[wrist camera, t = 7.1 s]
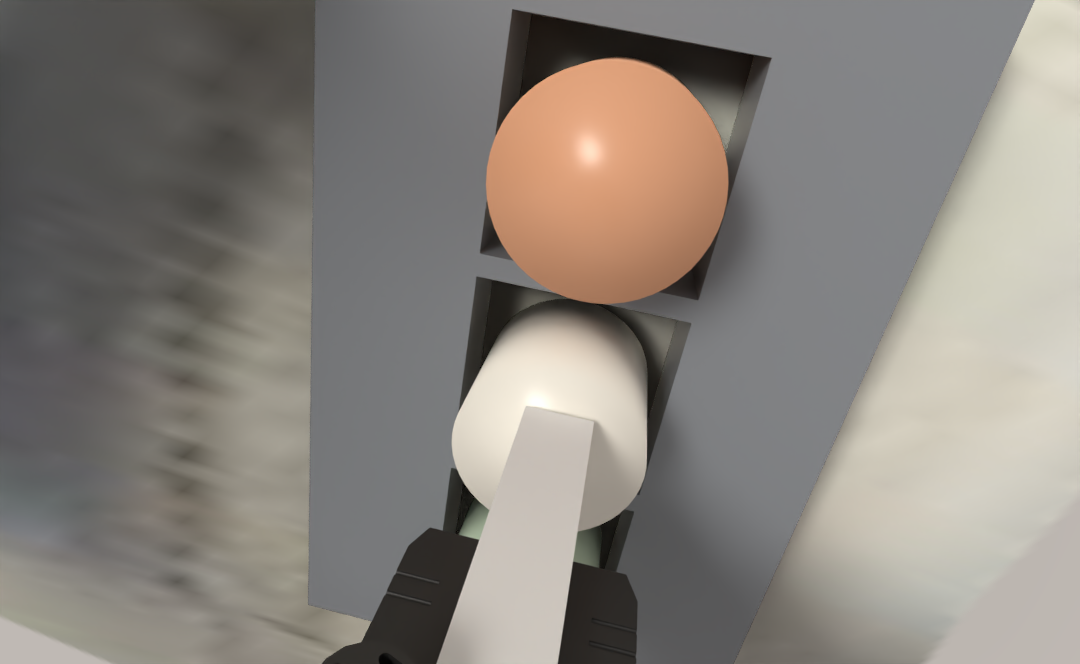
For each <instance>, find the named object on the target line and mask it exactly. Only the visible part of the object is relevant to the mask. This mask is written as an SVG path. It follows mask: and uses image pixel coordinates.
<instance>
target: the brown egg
mask: <svg viewBox="0 0 1080 664" xmlns="http://www.w3.org/2000/svg"><path fill="white" fill-rule="evenodd" d="M486 193H487V202H488V207H489V213H490V216H491V219H492V222H493V225H494V228H495V231H496V233H497V235H498V237H499V239H500V241H501V243H502V245H503V246H504V248H505V249H506V251H507V252H508V254H509V255H510V257H511V258H512V259H513V260H514V261H515V263H516V264H517V265H518V266H519V267H520V268H521V269H522V270H523V271H524V272H525V273H526V274H527V275H528V276H530V277H531V278H532V279H534V280H535V281H536V282H538V283H539V284H540V285H542V286H544V287H546V288H547V289H549V290H551V291H553V292H555V293H557V294H560V295H562V296H564V297H567V298H571V299H574V300H578V301H582V302H589V303H597V304H614V303H624V302H629V301H634V300H638V299H641V298H644V297H647V296H650V295H653V294H655V293H657V292H659V291H661V290H663V289H665V288H667V287H668V286H670V285H672V284H673V283H675V282H676V281H678V280H679V279H680V278H681V277H683V276H684V275H685V274H686V273H687V272H689V271H690V270H691V269H692V268H693V267H694V266H695V264H696V263H697V262H698V261H699V260H700V259H701V258H702V256H703V255H704V254H705V252H706V251H707V249H708V248H709V247H710V245H711V243H712V241H713V239H714V237H715V236H716V234H717V232H718V229H719V227H720V224H721V221H722V219H723V216H724V211H725V207H726V203H727V195H728V166H727V161H726V155H725V150H724V147H723V144H722V141H721V138H720V135H719V133H718V131H717V129H716V127H715V125H714V123H713V121H712V119H711V118H710V116H709V115H708V114H707V112H706V111H705V109H704V108H703V106H702V105H701V104H700V103H699V102H698V100H697V99H696V98H695V97H694V96H693V95H692V93H691V92H690V91H689V90H688V89H687V88H686V87H685V85H684V84H683V83H682V82H681V81H680V80H679V79H677V78H676V77H675V76H674V75H672V74H671V73H670V72H668V71H667V70H665V69H663V68H662V67H660V66H658V65H655V64H653V63H651V62H648V61H645V60H641V59H637V58H630V57H607V58H601V59H596V60H593V61H589V62H586V63H583V64H579V65H576V66H573V67H570V68H567V69H564V70H562V71H560V72H557V73H555V74H553V75H551V76H549V77H547V78H546V79H544V80H543V81H541V82H540V83H538V84H537V85H535V86H534V87H533V88H532V89H531V90H529V91H528V92H527V93H526V94H525V95H524V96H522V98H521V99H520V100H519V101H518V102H517V103H516V104H515V106H514V107H513V108H512V109H511V110H510V112H509V113H508V115H507V116H506V118H505V119H504V121H503V122H502V124H501V126H500V128H499V130H498V132H497V135H496V137H495V139H494V142H493V145H492V148H491V151H490V155H489V160H488V165H487V175H486Z"/></svg>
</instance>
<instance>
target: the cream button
mask: <svg viewBox="0 0 1080 664" xmlns="http://www.w3.org/2000/svg"><path fill="white" fill-rule="evenodd" d="M526 406H530V407H534V408H538V409H543V410H547V411H551V412H555V413H560V414H564V415H568V416H573V417H577V418H581V419H585V420H590V421H594V425H593V432H592V438H591V445H590V452H589V458H588V465H587V472H586V478H585V485H584V492H583V498H582V505H581V512H580V518H579V525H578V531H582V530H586V529H590V528H593V527H596V526H599V525H601V524H603V523H605V522H607V521H609V520H611V519H612V518H614V517H615V516H617V515H618V514H620V513H621V512H622V511H623V510H624V509H625V508H626V507H627V506H628V505H629V504H630V503H631V502H632V500H633V499H634V498H635V496H636V495H637V493H638V491H639V490H640V488H641V485H642V483H643V480H644V477H645V472H646V465H647V363H646V359H645V355H644V352H643V349H642V347H641V344H640V342H639V341H638V339H637V337H636V336H635V334H634V333H633V332H632V330H631V329H630V328H629V327H628V326H627V325H626V324H625V323H624V322H623V321H622V320H621V319H620V318H618V317H617V316H616V315H614V314H613V313H611V312H610V311H608V310H606V309H604V308H602V307H600V306H598V305H595V304H592V303H589V302H582V301H578V300H574V299H555V300H548V301H544V302H540V303H537V304H534V305H531V306H530V307H528V308H526V309H524V310H522V311H521V312H519V313H518V314H516V315H515V316H514V317H513V318H512V319H511V320H509V321H508V322H507V324H506V325H505V326H504V327H503V329H502V330H501V332H500V333H499V335H498V337H497V339H496V341H495V343H494V345H493V347H492V348H491V350H490V352H489V354H488V356H487V358H486V360H485V362H484V364H483V366H482V368H481V370H480V372H479V374H478V376H477V378H476V379H475V381H474V383H473V385H472V387H471V389H470V391H469V393H468V395H467V397H466V399H465V401H464V403H463V405H462V407H461V409H460V410H459V412H458V415H457V417H456V420H455V423H454V427H453V432H452V453H453V458H454V462H455V465H456V468H457V470H458V473H459V475H460V477H461V479H462V480H463V482H464V484H465V485H466V487H467V488H468V489H469V491H470V492H471V493H472V494H473V495H474V497H475V498H476V499H477V500H478V501H479V502H480V503H481V504H483V505H484V506H485V507H486V508H487V509H489V510H490V508H491V505H492V502H493V499H494V496H495V493H496V491H497V488H498V485H499V482H500V479H501V476H502V473H503V470H504V467H505V465H506V462H507V459H508V456H509V453H510V450H511V447H512V444H513V441H514V439H515V436H516V433H517V430H518V427H519V424H520V421H521V418H522V415H523V413H524V410H525V407H526Z"/></svg>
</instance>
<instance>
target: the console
mask: <svg viewBox="0 0 1080 664" xmlns="http://www.w3.org/2000/svg"><path fill="white" fill-rule="evenodd" d="M1034 1H1035V0H315V61H314V148H313V234H312V321H311V408H310V494H309V581H308V605H311V606H315V607H319V608H323V609H326V610H330V611H334V612H338V613H342V614H346V615H350V616H353V617H357V618H361V619H365V620H369V621H372V620H373V618H374V616H375V614H376V611H377V609H378V607H379V605H380V603H381V601H382V599H383V597H384V595H386V592H387V589H388V587H389V585H390V583H391V581H392V578H393V576H394V575H395V574H396V571H397V568H398V566H399V564H400V562H401V560H402V558H403V556H404V554H405V552H406V550H407V547H408V545H410V544H411V543H412V542H413V541H414V540H416V539H417V538H418V537H419V536H420V535H421V534H423V533H424V532H425V531H426V530H427V529H429V528H434V529H438V530H442V531H446V532H450V533H454V534H456V528H457V521H458V515H459V508H460V501H461V494H462V487H463V480H462V479H461V477H460V475H459V473H458V470H457V468H456V465H455V462H454V458H453V453H452V432H453V427H454V423H455V420H456V417H457V415H458V412H459V410H460V409H461V407H462V405H463V403H464V401H465V399H466V397H467V395H468V393H469V391H470V389H471V387H472V385H473V383H474V381H475V379H476V378H477V376H478V374H479V371H480V364H481V357H482V350H483V343H484V336H485V329H486V323H487V316H488V309H489V302H490V295H491V288H492V281H493V280H496V281H501V282H505V283H510V284H515V285H519V286H524V287H528V288H533V289H538V290H542V291H547V292H551V293H555V292H553V291H551V290H549V289H547V288H546V287H544V286H542V285H540V284H539V283H538V282H536V281H535V280H534V279H532V278H531V277H530V276H528V275H527V274H526V273H525V272H524V271H523V270H522V269H521V268H520V267H519V266H518V265H517V264H516V263H515V261H514V260H513V259H512V258H511V257H510V255H509V254H508V252H507V251H506V249H505V248H504V246H503V245H502V243H501V241H500V239H499V237H498V235H497V233H496V231H495V228H494V225H493V222H492V219H491V216H490V213H489V207H488V202H487V193H486V175H487V165H488V160H489V155H490V151H491V148H492V145H493V142H494V139H495V137H496V135H497V132H498V130H499V128H500V126H501V124H502V122H503V121H504V119H505V118H506V116H507V115H508V113H509V112H510V110H511V109H512V108H513V107H514V106H515V104H516V103H517V102H518V101H519V96H520V89H521V82H522V76H523V69H524V62H525V55H526V48H527V41H528V34H529V28H530V21H531V14H535V15H540V16H545V17H551V18H556V19H561V20H567V21H572V22H577V23H583V24H588V25H593V26H599V27H604V28H609V29H615V30H620V31H625V32H631V33H636V34H641V35H647V36H652V37H657V38H663V39H668V40H673V41H679V42H684V43H689V44H695V45H700V46H705V47H711V48H716V49H721V50H727V51H732V52H737V53H743V54H748V55H753V56H754V58H753V62H752V65H751V69H750V72H749V75H748V79H747V82H746V86H745V89H744V93H743V96H742V100H741V103H740V106H739V110H738V113H737V117H736V120H735V124H734V127H733V130H732V134H731V137H730V141H729V144H728V148H727V151H726V154H725V155H726V161H727V166H728V195H727V203H726V207H725V211H724V216H723V219H722V221H721V224H720V227H719V229H718V232H717V234H716V236H715V237H714V239H713V241H712V243H711V245H710V247H709V248H708V249H707V251H706V252H705V254H704V255H703V256H702V258H701V259H700V260H699V261H698V262H697V263H696V264H695V266H694V267H693V268H692V269H691V270H690V271H689V272H687V273H686V274H685V275H684V276H683V277H681V278H680V279H679V280H678V281H676V282H675V283H673V284H672V285H670V286H668V287H667V288H665V289H663V290H661V291H659V292H657V293H655V294H653V295H650V296H647V297H644V298H641V299H638V300H634V301H629V302H624V303H614V304H606V305H611V306H616V307H620V308H625V309H629V310H634V311H638V312H643V313H648V314H652V315H657V316H661V317H666V318H671V319H675V320H677V322H676V326H675V329H674V333H673V336H672V340H671V343H670V346H669V350H668V353H667V357H666V360H665V364H664V367H663V370H662V374H661V377H660V381H659V384H658V388H657V391H656V395H655V398H654V401H653V405H652V408H651V412H650V415H649V419H648V422H647V465H646V472H645V477H644V480H643V483H642V485H641V488H640V490H639V491H638V493H637V495H636V496H635V498H634V499H633V500H632V502H631V503H630V504H629V505H628V506H627V507H626V508H625V509H624V510H623V511H622V512H621V515H620V518H619V521H618V525H617V528H616V532H615V535H614V539H613V542H612V545H611V549H610V552H609V556H608V559H607V563H606V566H605V569H606V570H610V571H614V572H618V573H622V574H626V575H627V577H628V580H629V582H630V584H631V587H632V589H633V591H634V594H635V596H636V599H637V601H638V610H637V632H636V635H637V652H636V664H734V662H735V659H736V657H737V655H738V653H739V651H740V648H741V646H742V644H743V642H744V639H745V637H746V635H747V633H748V631H749V628H750V626H751V624H752V622H753V620H754V617H755V615H756V613H757V611H758V609H759V606H760V604H761V602H762V600H763V598H764V595H765V593H766V591H767V589H768V587H769V584H770V582H771V580H772V578H773V576H774V573H775V571H776V569H777V567H778V565H779V562H780V560H781V558H782V556H783V554H784V551H785V549H786V547H787V545H788V543H789V540H790V538H791V536H792V534H793V532H794V529H795V527H796V525H797V523H798V521H799V518H800V516H801V514H802V512H803V510H804V507H805V505H806V503H807V501H808V499H809V496H810V494H811V492H812V490H813V488H814V485H815V483H816V481H817V479H818V477H819V474H820V472H821V470H822V468H823V466H824V463H825V461H826V459H827V457H828V455H829V452H830V450H831V448H832V446H833V444H834V441H835V439H836V437H837V435H838V432H839V430H840V428H841V426H842V424H843V421H844V419H845V417H846V415H847V413H848V410H849V408H850V406H851V404H852V402H853V399H854V397H855V395H856V393H857V391H858V388H859V386H860V384H861V382H862V380H863V377H864V375H865V373H866V371H867V369H868V366H869V364H870V362H871V360H872V358H873V355H874V353H875V351H876V349H877V347H878V344H879V342H880V340H881V338H882V336H883V333H884V331H885V329H886V327H887V325H888V322H889V320H890V318H891V316H892V314H893V311H894V309H895V307H896V305H897V303H898V300H899V298H900V296H901V294H902V292H903V289H904V287H905V285H906V283H907V281H908V278H909V276H910V274H911V272H912V270H913V267H914V265H915V263H916V261H917V259H918V256H919V254H920V252H921V250H922V248H923V245H924V243H925V241H926V239H927V236H928V234H929V232H930V230H931V228H932V225H933V223H934V221H935V219H936V217H937V214H938V212H939V210H940V208H941V206H942V203H943V201H944V199H945V197H946V195H947V192H948V190H949V188H950V186H951V184H952V181H953V179H954V177H955V175H956V173H957V170H958V168H959V166H960V164H961V162H962V159H963V157H964V155H965V153H966V151H967V148H968V146H969V144H970V142H971V140H972V137H973V135H974V133H975V131H976V129H977V126H978V124H979V122H980V120H981V118H982V115H983V113H984V111H985V109H986V107H987V104H988V102H989V100H990V98H991V96H992V93H993V91H994V89H995V87H996V85H997V82H998V80H999V78H1000V76H1001V74H1002V71H1003V69H1004V67H1005V65H1006V63H1007V60H1008V58H1009V56H1010V54H1011V52H1012V49H1013V47H1014V45H1015V43H1016V41H1017V38H1018V36H1019V34H1020V32H1021V29H1022V27H1023V25H1024V23H1025V21H1026V18H1027V16H1028V14H1029V12H1030V10H1031V7H1032V5H1033V3H1034ZM556 294H557V293H556Z"/></svg>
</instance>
